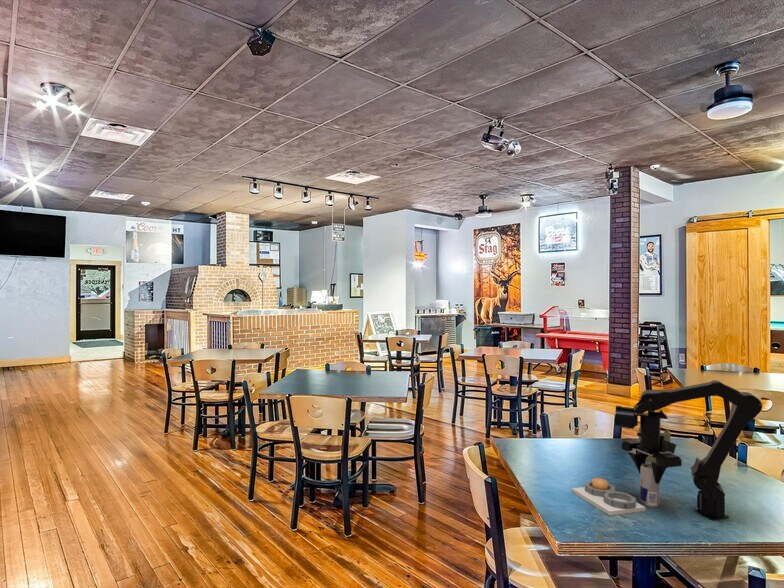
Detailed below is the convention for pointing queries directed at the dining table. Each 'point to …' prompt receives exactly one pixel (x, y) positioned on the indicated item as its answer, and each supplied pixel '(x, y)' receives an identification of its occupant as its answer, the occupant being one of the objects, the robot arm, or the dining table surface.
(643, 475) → the energy drink
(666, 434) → the piston
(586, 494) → the housing
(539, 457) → the dining table surface
